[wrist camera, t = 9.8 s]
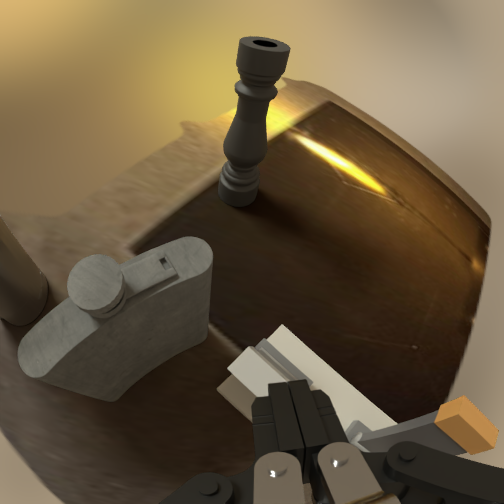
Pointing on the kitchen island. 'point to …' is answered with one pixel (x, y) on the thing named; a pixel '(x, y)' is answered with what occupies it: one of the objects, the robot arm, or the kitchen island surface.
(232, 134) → the candle holder
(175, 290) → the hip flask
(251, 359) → the grey lever
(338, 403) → the switch panel
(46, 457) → the kitchen island surface
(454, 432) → the orange lever
